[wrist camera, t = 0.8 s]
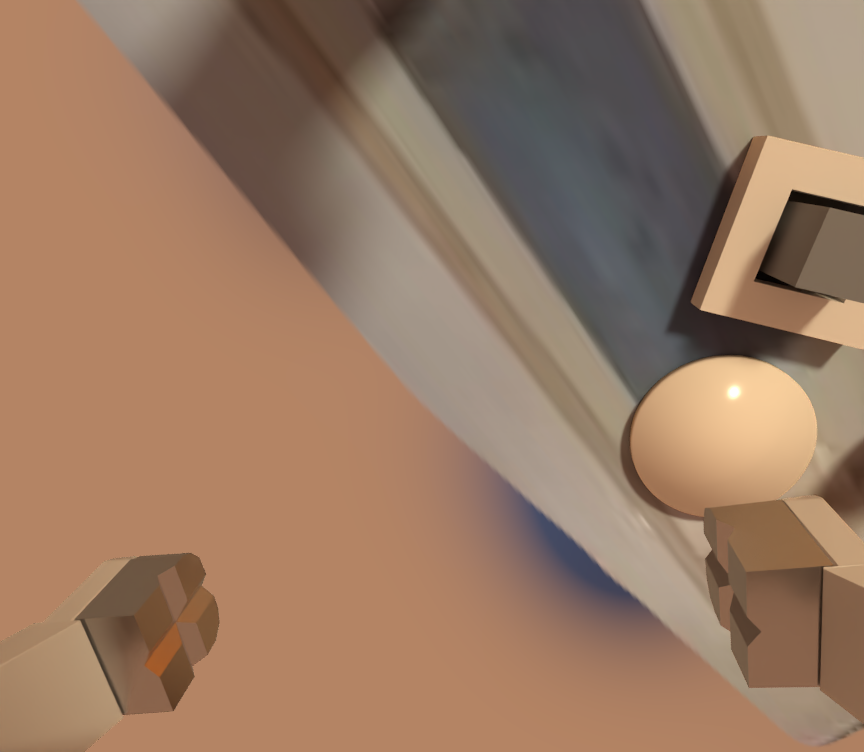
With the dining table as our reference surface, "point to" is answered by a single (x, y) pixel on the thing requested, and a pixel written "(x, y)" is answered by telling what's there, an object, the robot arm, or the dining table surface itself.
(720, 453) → the peach ellipsoid
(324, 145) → the dining table surface
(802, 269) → the block
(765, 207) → the pocket collar
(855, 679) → the robot arm
